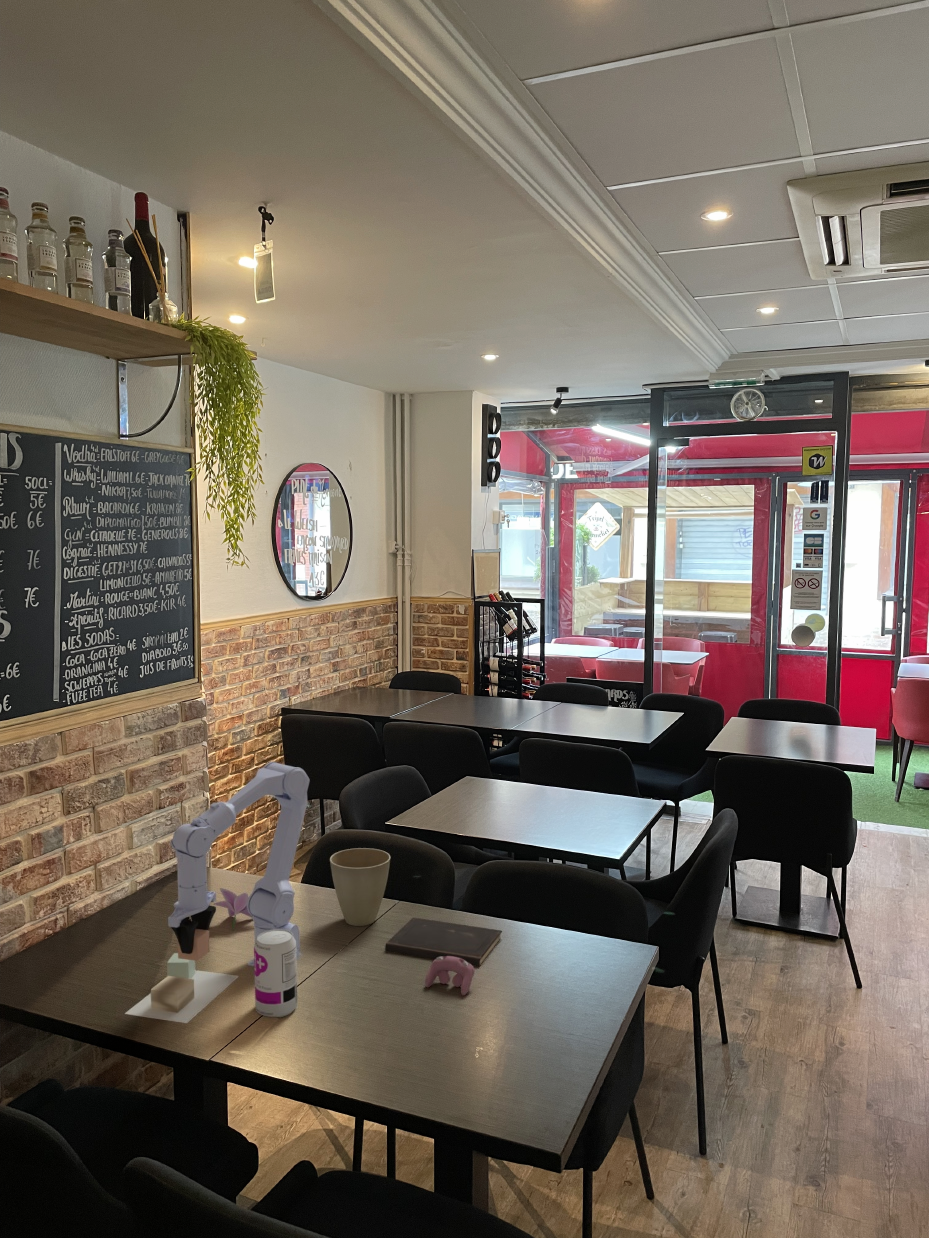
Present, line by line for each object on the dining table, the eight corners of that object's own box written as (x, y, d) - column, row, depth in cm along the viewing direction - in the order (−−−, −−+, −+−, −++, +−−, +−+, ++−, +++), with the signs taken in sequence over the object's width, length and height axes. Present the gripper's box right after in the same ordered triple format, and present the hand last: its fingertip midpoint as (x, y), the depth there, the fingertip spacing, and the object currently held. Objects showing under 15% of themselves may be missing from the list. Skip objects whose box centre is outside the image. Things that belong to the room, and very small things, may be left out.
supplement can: (261, 1023, 174) (260, 948, 173) (251, 1004, 182) (249, 932, 181) (302, 1013, 178) (300, 940, 177) (290, 995, 185) (288, 924, 184)
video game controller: (472, 996, 188) (478, 961, 190) (464, 995, 184) (470, 959, 186) (430, 987, 192) (436, 952, 194) (421, 986, 188) (428, 951, 190)
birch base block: (194, 998, 184) (193, 979, 183) (177, 1012, 178) (177, 993, 178) (168, 994, 185) (168, 975, 185) (151, 1008, 180) (150, 989, 179)
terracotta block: (209, 951, 187) (209, 930, 187) (197, 960, 183) (197, 939, 182) (190, 948, 188) (189, 928, 188) (178, 958, 184) (177, 936, 184)
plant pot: (371, 937, 213) (370, 871, 212) (319, 926, 220) (317, 862, 218) (402, 913, 227) (401, 852, 225) (352, 904, 233) (351, 844, 232)
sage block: (195, 973, 195) (194, 952, 194) (188, 982, 190) (188, 962, 190) (174, 973, 195) (174, 952, 194) (167, 982, 190) (167, 962, 190)
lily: (271, 929, 220) (273, 889, 224) (235, 926, 211) (237, 884, 215) (237, 935, 226) (239, 895, 230) (200, 932, 217) (203, 891, 221)
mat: (239, 977, 193) (239, 975, 193) (186, 1024, 174) (186, 1022, 174) (182, 969, 197) (182, 968, 197) (124, 1015, 178) (124, 1013, 178)
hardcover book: (413, 926, 221) (413, 916, 220) (502, 939, 213) (502, 930, 212) (385, 953, 206) (384, 943, 206) (479, 969, 198) (479, 959, 198)
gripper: (194, 869, 192) (196, 931, 193) (154, 893, 178) (155, 960, 179) (224, 872, 190) (225, 934, 191) (185, 897, 177) (187, 964, 177)
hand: (193, 947), depth 185 cm, fingers closed on terracotta block, 4 cm apart
